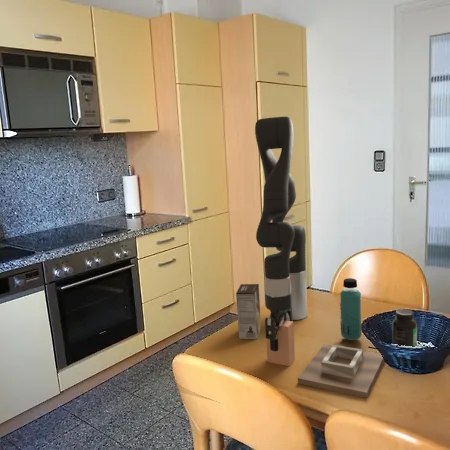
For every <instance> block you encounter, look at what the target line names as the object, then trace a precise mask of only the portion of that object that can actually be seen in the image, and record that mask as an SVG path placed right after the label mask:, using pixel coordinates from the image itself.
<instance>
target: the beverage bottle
mask: <svg viewBox="0 0 450 450" xmlns="http://www.w3.org/2000/svg"><path fill="white" fill-rule="evenodd" d="M357 281H358V280H357V279H355V278H352V277H350V278H345V279H343V284H342V285H343V287H344V289H342V290H341V291H340V293H339V295H340V298H339V299H340V303H339V304H340V305H339V306H340V307H339V308H340V309H339V310H340V322H339V323H340V335H341V337H342V338H343V339H346V340H354V341H355V340H359V339H360V338H361V337H362V332H363V331H362V329H361V328H362V302H361V301H362V300H361V299H362V298H361V295H362V293H361V292H360V291H359V290H358V289H357V287H358V282H357Z"/></svg>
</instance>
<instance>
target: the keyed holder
mask: <svg viewBox="0 0 450 450" xmlns="http://www.w3.org/2000/svg"><path fill="white" fill-rule="evenodd" d="M381 354H382V353H377V352H372V351H366V350H364V349H362V348H356V347H355V348H354V347H349V346H344V345H337V344H333V345H330V344H329V345H328V344H323V345H322V346H321V347H320V348H319V350H318V351H317V352H316V353H315V355H314V356H313V357H312V358H311V360H310V362H309V363H308V364H307V365H306V367H305V368H304V369H303V370H302V372H301V373H300V375H299V376H298V377H297V384H300V385H303V386H309V387H312V386H313V388H317V387H318V389H322V390H327V391H331V392H336V393H339V394H340V393H341V394H346V395H351V396H355V397H360V398H364V399H367V398H368V396H369V394H370V392H371V391H372V387H373V386H374V383H375V382H376V380H377V377H378V375H379V372H380V371H381V369H382V366H383V364H384V362H385V360H384V359H383V357H382V355H381Z"/></svg>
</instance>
